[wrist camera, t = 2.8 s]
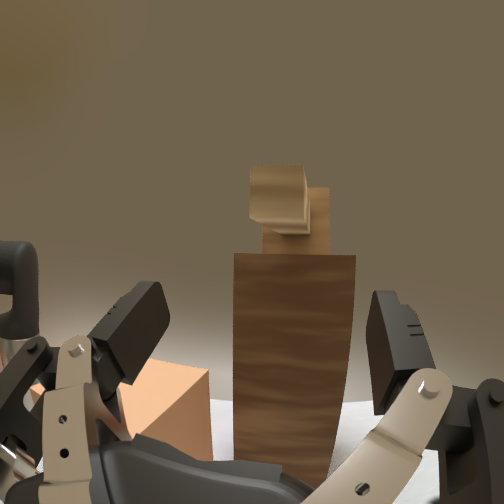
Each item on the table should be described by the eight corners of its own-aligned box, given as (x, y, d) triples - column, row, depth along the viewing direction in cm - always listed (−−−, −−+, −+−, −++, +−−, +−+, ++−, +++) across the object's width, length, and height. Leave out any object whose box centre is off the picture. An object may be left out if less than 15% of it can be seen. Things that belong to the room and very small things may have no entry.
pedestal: (174, 560, 13) (130, 442, 13) (86, 517, 16) (28, 387, 16) (215, 491, 27) (208, 369, 27) (140, 467, 30) (118, 350, 30)
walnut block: (321, 494, 26) (355, 255, 26) (234, 485, 28) (234, 253, 28) (324, 440, 39) (342, 255, 39) (256, 435, 42) (261, 253, 42)
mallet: (340, 255, 15) (336, 133, 15) (215, 253, 16) (219, 138, 16) (326, 254, 37) (326, 203, 37) (275, 253, 39) (275, 203, 39)
